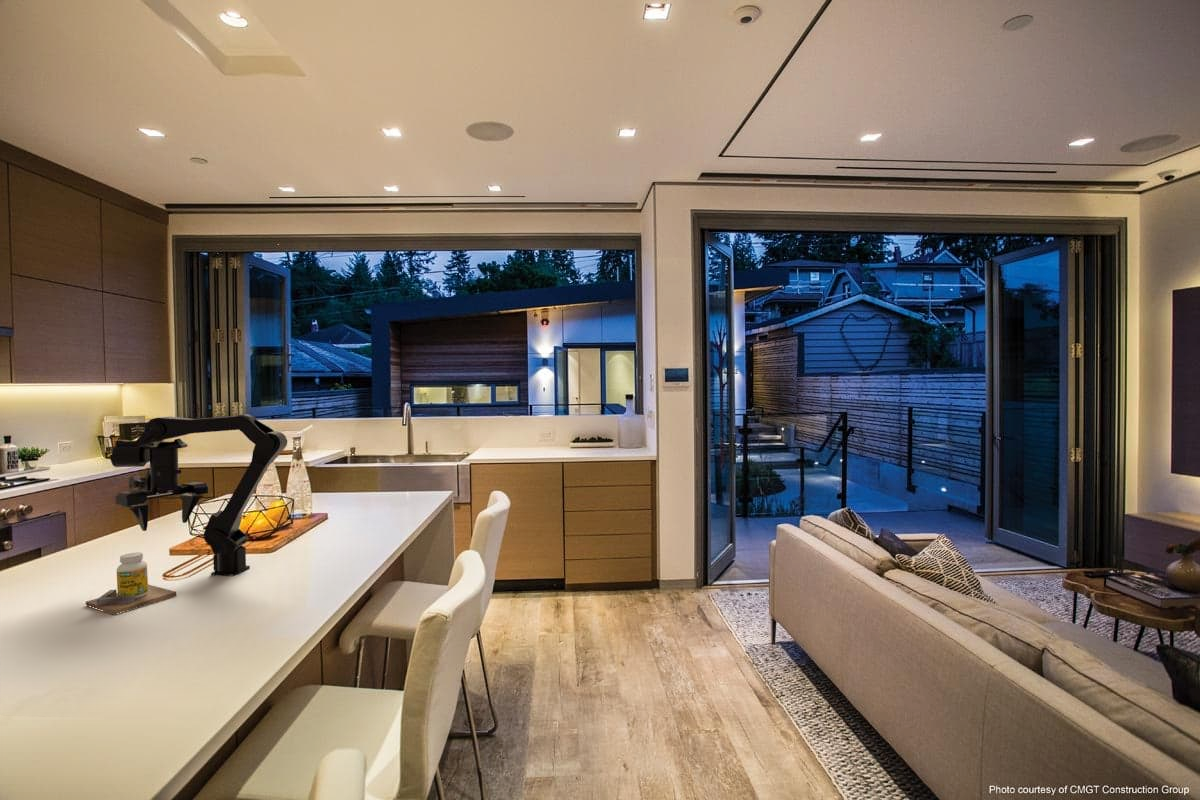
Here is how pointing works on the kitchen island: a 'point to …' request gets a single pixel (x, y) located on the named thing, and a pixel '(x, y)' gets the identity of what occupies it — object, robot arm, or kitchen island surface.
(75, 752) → the kitchen island surface
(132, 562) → the supplement bottle
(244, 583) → the kitchen island surface
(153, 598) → the square wooden base plate
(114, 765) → the kitchen island surface
